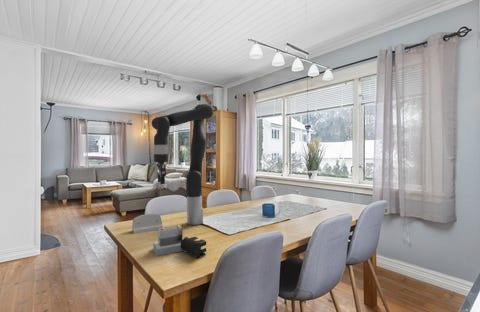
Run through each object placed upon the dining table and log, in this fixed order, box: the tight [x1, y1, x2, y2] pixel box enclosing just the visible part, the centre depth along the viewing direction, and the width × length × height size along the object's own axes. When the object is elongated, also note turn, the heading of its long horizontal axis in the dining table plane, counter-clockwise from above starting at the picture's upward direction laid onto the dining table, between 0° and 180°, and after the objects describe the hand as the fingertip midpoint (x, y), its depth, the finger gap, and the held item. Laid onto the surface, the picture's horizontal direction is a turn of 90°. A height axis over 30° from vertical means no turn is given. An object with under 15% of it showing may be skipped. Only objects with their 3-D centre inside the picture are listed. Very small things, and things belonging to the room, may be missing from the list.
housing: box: [157, 224, 184, 247], centre depth 116 cm, size 5×10×8 cm, turn 117°
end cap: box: [181, 236, 207, 259], centre depth 110 cm, size 10×7×7 cm
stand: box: [152, 241, 184, 257], centre depth 116 cm, size 14×9×3 cm, turn 117°
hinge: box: [131, 213, 164, 234], centre depth 145 cm, size 17×5×10 cm, turn 121°
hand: (161, 183), depth 137 cm, fingers open, 8 cm apart
